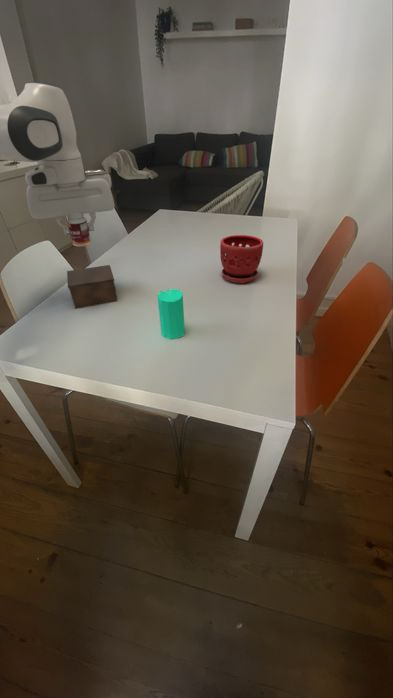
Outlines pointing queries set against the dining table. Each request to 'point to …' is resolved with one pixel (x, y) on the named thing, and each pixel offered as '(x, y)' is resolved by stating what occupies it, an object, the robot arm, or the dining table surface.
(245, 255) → the flower pot
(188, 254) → the dining table surface
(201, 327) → the dining table surface
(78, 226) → the pill bottle
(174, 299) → the candle
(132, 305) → the dining table surface
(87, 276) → the walnut box
